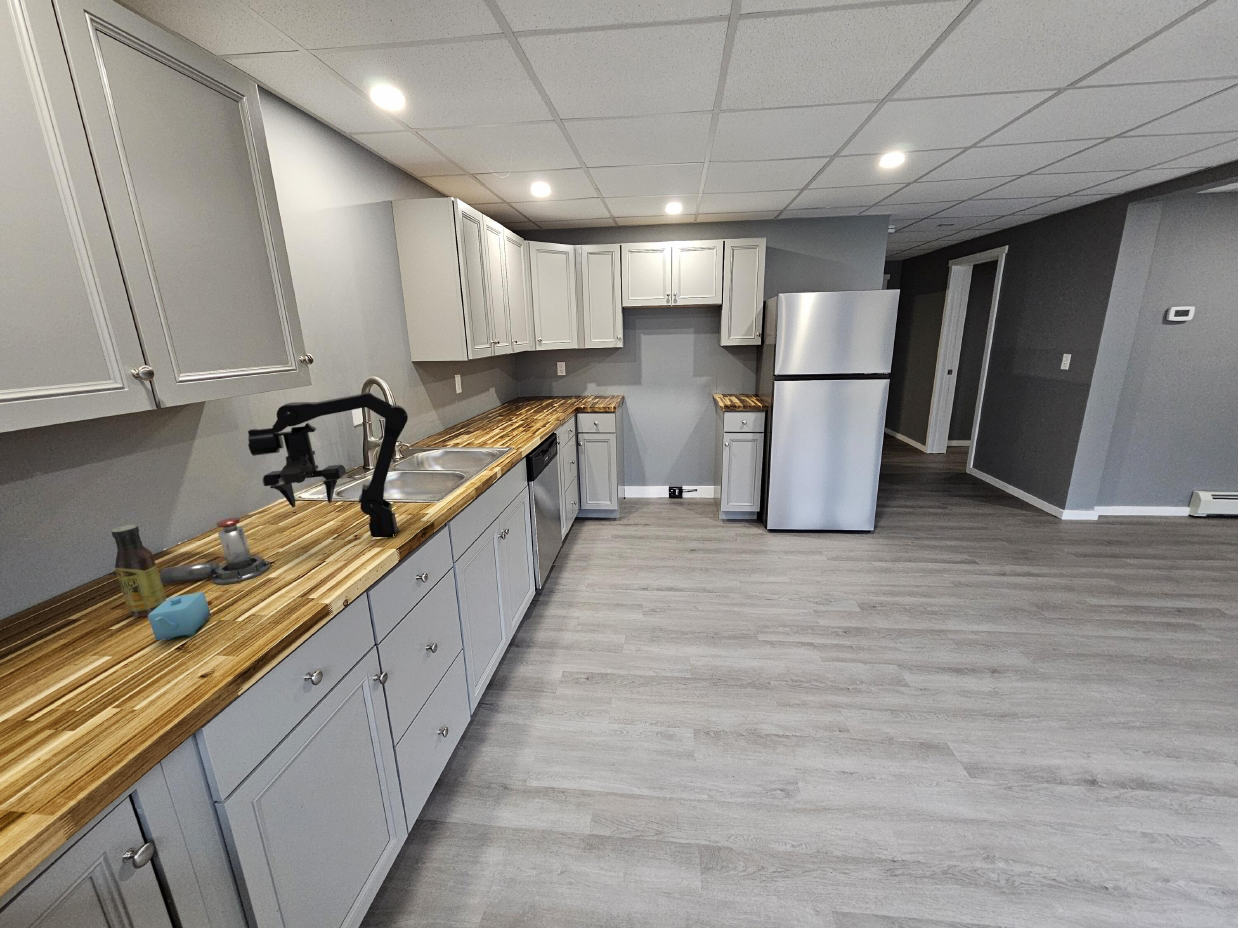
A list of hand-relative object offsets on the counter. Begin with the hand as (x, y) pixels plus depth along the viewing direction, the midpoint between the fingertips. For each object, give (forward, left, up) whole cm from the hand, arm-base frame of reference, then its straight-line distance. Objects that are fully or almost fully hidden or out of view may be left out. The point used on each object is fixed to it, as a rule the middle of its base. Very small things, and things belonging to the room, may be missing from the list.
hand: (312, 504), depth 134 cm
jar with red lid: (+15, +11, -12) cm, 22 cm away
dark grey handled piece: (+20, +11, -13) cm, 27 cm away
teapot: (+12, +39, -13) cm, 43 cm away
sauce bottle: (+26, +26, -13) cm, 39 cm away
